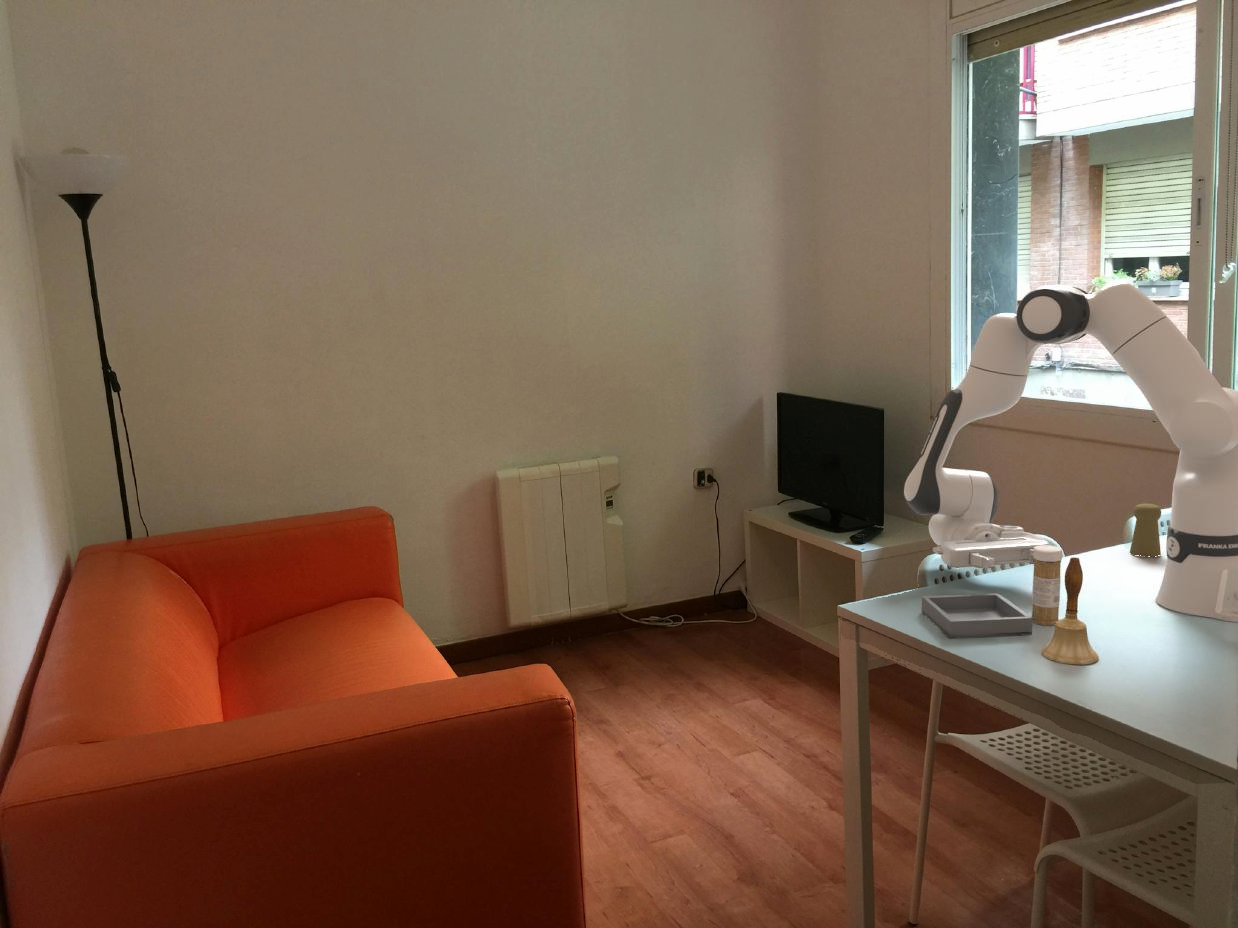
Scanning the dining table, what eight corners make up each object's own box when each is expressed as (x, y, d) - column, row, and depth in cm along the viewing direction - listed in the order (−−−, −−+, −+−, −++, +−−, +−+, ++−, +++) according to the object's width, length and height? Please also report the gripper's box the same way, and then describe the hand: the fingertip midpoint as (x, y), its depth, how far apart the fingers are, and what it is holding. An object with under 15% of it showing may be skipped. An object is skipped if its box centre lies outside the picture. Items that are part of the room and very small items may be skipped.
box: (997, 609, 179) (998, 593, 178) (1032, 634, 165) (1032, 617, 164) (921, 612, 178) (922, 596, 178) (950, 638, 164) (950, 621, 164)
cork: (1166, 557, 209) (1169, 506, 207) (1138, 558, 209) (1140, 507, 207) (1152, 550, 215) (1154, 501, 213) (1124, 550, 215) (1126, 501, 213)
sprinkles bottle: (1043, 616, 174) (1046, 543, 172) (1064, 623, 170) (1068, 548, 168) (1024, 620, 172) (1027, 546, 170) (1046, 628, 168) (1049, 552, 166)
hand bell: (1045, 643, 161) (1048, 549, 158) (1100, 651, 157) (1105, 554, 154) (1037, 660, 154) (1041, 562, 151) (1096, 668, 150) (1101, 568, 147)
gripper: (929, 532, 192) (962, 549, 178) (1027, 525, 194) (1067, 542, 181) (928, 563, 193) (961, 582, 179) (1026, 556, 195) (1065, 575, 182)
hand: (1015, 562), depth 180 cm, fingers open, 8 cm apart
